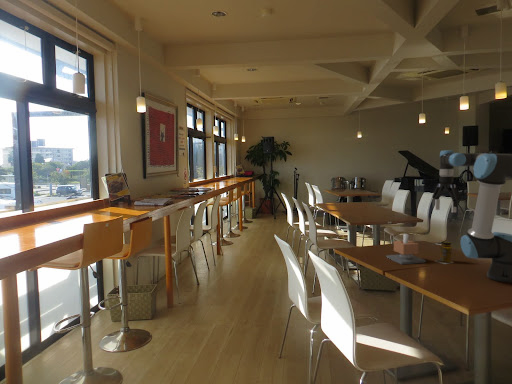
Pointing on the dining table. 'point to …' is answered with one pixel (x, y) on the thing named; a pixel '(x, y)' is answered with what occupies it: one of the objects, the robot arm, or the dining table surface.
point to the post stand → (406, 255)
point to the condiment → (445, 253)
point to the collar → (406, 247)
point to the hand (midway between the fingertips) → (445, 211)
